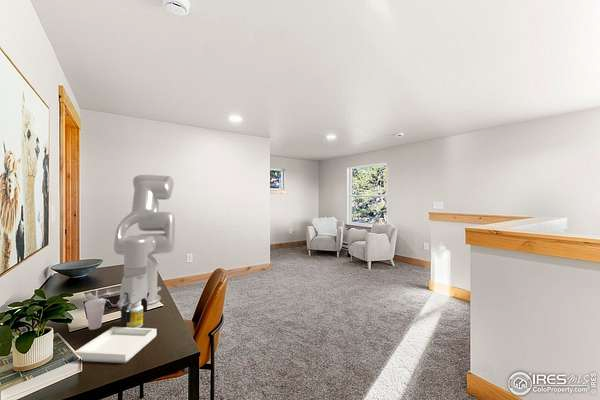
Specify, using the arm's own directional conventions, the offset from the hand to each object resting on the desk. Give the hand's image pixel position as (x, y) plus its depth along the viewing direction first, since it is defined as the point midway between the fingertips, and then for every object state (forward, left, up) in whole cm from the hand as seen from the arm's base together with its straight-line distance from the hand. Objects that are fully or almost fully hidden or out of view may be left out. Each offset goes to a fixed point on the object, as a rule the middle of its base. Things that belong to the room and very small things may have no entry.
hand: (134, 316), depth 102 cm
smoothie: (+1, -14, -4) cm, 15 cm away
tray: (+13, +4, -4) cm, 15 cm away
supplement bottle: (-1, 0, -4) cm, 4 cm away
